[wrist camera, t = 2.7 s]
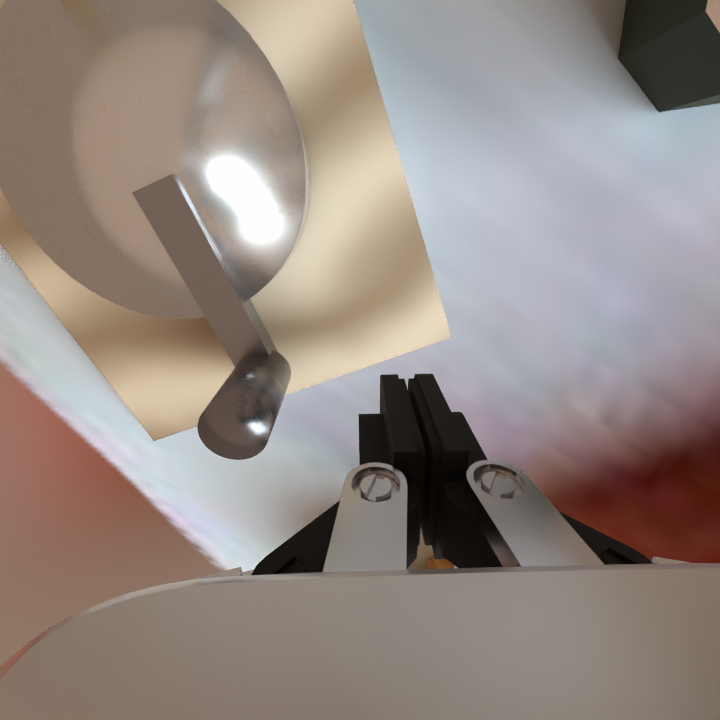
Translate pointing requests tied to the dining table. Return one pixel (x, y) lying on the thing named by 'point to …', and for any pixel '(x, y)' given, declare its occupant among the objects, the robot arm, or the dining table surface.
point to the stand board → (311, 257)
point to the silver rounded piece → (160, 174)
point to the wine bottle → (673, 51)
